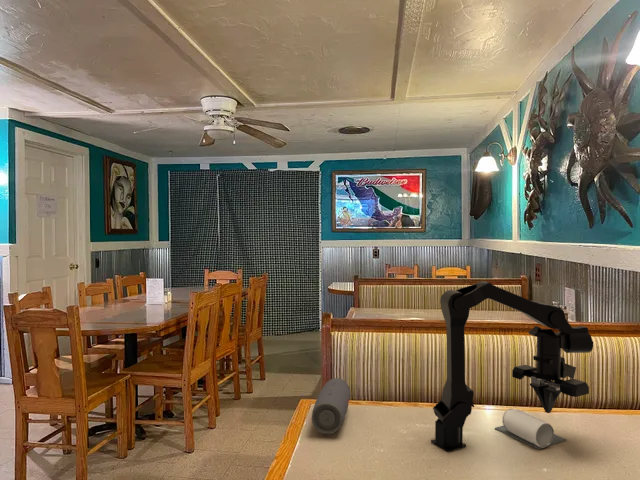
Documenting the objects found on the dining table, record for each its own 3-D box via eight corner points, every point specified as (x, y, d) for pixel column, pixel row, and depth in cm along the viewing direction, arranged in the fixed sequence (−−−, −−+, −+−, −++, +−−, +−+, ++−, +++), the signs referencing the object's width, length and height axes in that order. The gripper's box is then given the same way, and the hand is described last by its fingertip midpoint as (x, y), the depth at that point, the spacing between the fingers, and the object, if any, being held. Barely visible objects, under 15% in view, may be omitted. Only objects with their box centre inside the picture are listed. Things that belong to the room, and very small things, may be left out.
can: (552, 418, 121) (517, 403, 132) (533, 427, 118) (499, 411, 130) (556, 443, 121) (521, 425, 132) (537, 452, 119) (503, 433, 130)
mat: (538, 449, 120) (538, 447, 120) (494, 429, 132) (494, 427, 132) (566, 440, 125) (566, 439, 125) (521, 421, 137) (521, 420, 137)
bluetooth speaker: (344, 440, 125) (344, 402, 125) (309, 437, 127) (309, 400, 126) (352, 408, 148) (352, 376, 147) (322, 407, 149) (322, 375, 149)
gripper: (603, 357, 119) (602, 419, 119) (538, 342, 135) (537, 396, 136) (574, 363, 114) (574, 427, 114) (511, 346, 130) (510, 403, 130)
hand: (548, 412), depth 124 cm, fingers closed
